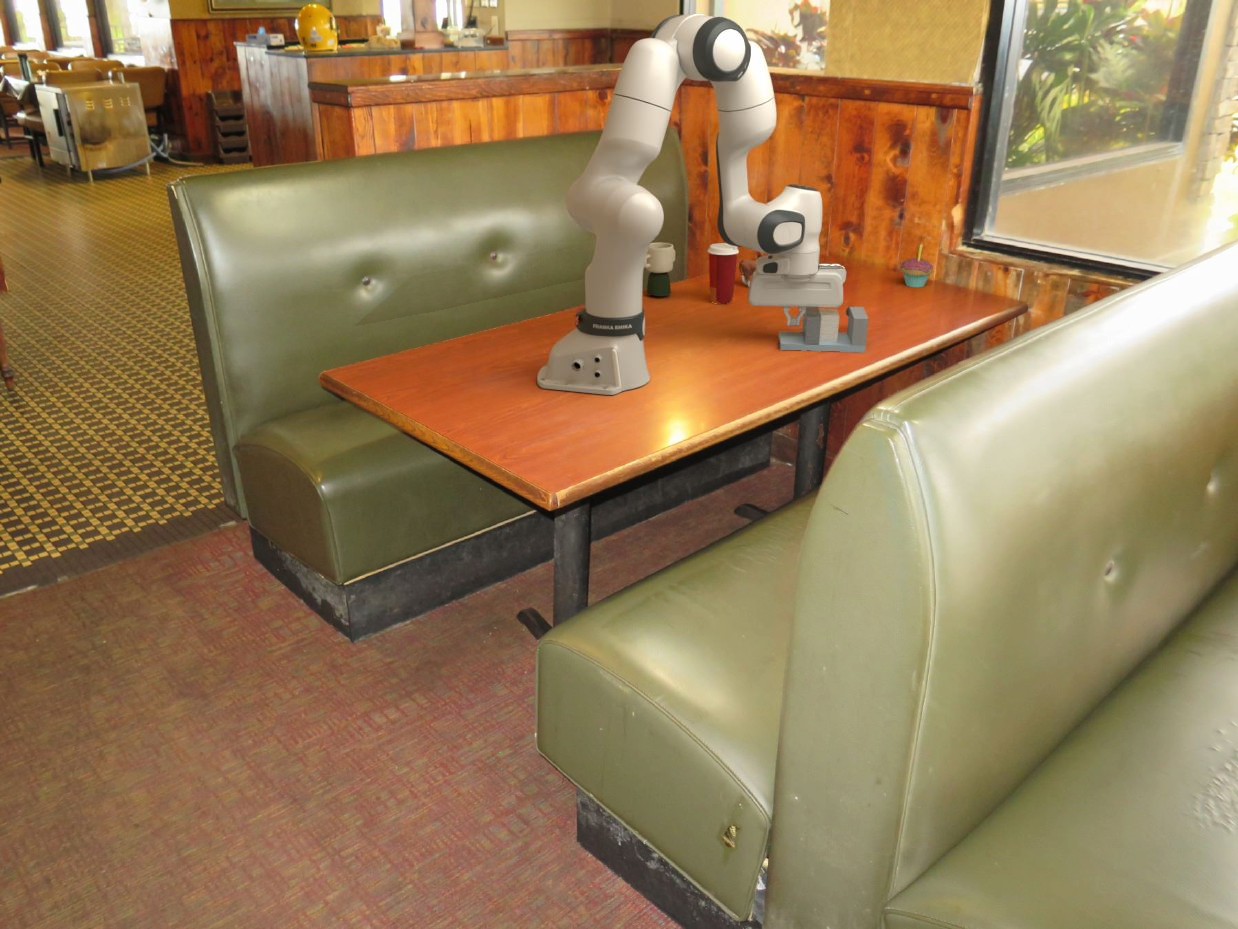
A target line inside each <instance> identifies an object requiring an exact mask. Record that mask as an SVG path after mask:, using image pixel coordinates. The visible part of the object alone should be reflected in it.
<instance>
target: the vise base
mask: <svg viewBox="0 0 1238 929" xmlns="http://www.w3.org/2000/svg"><path fill="white" fill-rule="evenodd" d="M845 315H846V316H847V317H848V318H847V329H846V332H838V338H837V342H819V344H805V342H804V337H803V333H802V331H785V330H784V331H782V330H781V331H778V343H780V344H779V350H780V351H782V350H801V351H800V352H808V351H807V350H811V351H810V352H821V351H840V352H839V353H859V354H861V353H864V354H865V353H866V346H867V336H868V326H869V316H868V314H867V312H866V309H865V308H864V307H863V306H854V305H850V306H848V307H847V308H846V310H845Z"/></svg>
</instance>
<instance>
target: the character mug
mask: <svg viewBox="0 0 1238 929" xmlns="http://www.w3.org/2000/svg"><path fill="white" fill-rule="evenodd" d="M674 262H676V249H674V245H673V243H669V242H660V241H659V242H651V244H650V246H649V249H648V252H647V256H646V260H645V264H644V269H646V271H648V272H650V273H649V274H648V278H647V285H646V295H650V296H653V298H655V297H668V296H670V295H671V294H672V290H671V280H670V275H669V273H670V272H672V271H673V269H674Z"/></svg>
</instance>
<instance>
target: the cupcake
mask: <svg viewBox="0 0 1238 929" xmlns="http://www.w3.org/2000/svg"><path fill="white" fill-rule="evenodd" d="M918 247H919V248H918V252H917V253H918V255H917V257H913V258H912V257H911V258H908V259H907V260H904V261H902V262H901V264H900V267H899V272H900V273H902V274H903V277H904V281H905V282H904V283H905V285H906V286H907V287H909V288H923V287H924V286H925V284H926V283H927V281H928V279H929V277H930V276H931V275H932V274H933V272H934V266H933V264H932V263H931V262H930V261H929V260H926V259H924V258H921V255H922V249H923V241H921V242H920V244H919V246H918Z"/></svg>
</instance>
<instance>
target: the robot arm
mask: <svg viewBox="0 0 1238 929" xmlns="http://www.w3.org/2000/svg"><path fill="white" fill-rule="evenodd" d="M686 79H688V80H692V81H699V82H701V81H702V82H704V81H706V82H707V81H709V82H710V83H711V85H712V88H713V90H714V96H715V104H716V110H717V116H718V132H717V135H716V139H715V157H716V170H717V171H716V173H717V184H718V195H719V197H718V198H719V203H718V204H719V206H718V212H717V213H718V214H717V225H716V226H717V231H718V234H719V236H720V238H721V239H722V240H723V241H724V243H727V244H729V245H732V246H737V248H745V249H748V250H752V251H755V252H759V253H762V254H766V255H762V256H759V257H757V259H756V260H755V261H756V270H755V271H754V273H753V274H752V275H751V276H750V286H749V287H748V293H747V294H748V295H747V296H748V298H747V301H748V303H749V305H751V306H753V307H755V306H756V307H782V311H783V313H784V315H785V317H786V325H787V327H800V324H801V319H803V315H804V313H805V312H806V307H818V308H840V307H841V305H842V304H843V302H844V285H843V284H844V283H845V282H846V279H847V269H846V267H844V266H843V265H841V263H837V262H835V263H828V262H827V263H825V262H820V253H821V247H820V240H819V239H820V234H821V232H822V227H823V226H822V224H823V199H822V195H821V192H820V191H819V190H818V189H817V188H815V187H811V186H806V185H802V184H792V183H791V184H787V185H785V186H784V188H783V190H782V192H781V193H780V194H779V195H778V196H777V197H775V198H774V199H772V200H771V201H769V202H766V203H763V202H759V201H756V200H755V199H754V198H753V197H752V196H751V194H750V192H749V181H748V166H747V161H748V160H747V158H748V155H749V153H750V151H751V150H753V149H756V148H757V147H760V146H761V145H762V144H764V143H765V142H766V141H768V139H769V138H770V137H771V136H772V134H773V133H774V131H775V129H776V127H777V115H778V114H777V104H776V99H775V98H776V97H775V93H774V87H773V82H772V78H771V74H770V70H769V67H768V62H767V61H766V57H765V54H764V52H763V50H762V48H761V46H760V45H759V44H758V43H756V42H755V41H752V40H749V39H748V36H747V35H746V33H745V31H744V30H743V28H742V26H740V25H739V24H738V23H737V22H735V21H733V20H732V19H730V18H727V17H724V16H711V15H707V14H702V13H691V14H690V13H689V14H675V15H671V16H669V17H666V18H665V19H663V20H662V21H661V22H659V23H658V24H657V26H656V27H655V28H654V30H653V31H652V33H651V35H650V37H647V38H642V39H639V40H637V41H635V42H634V44H632V46H631V47H630V49H629V50H628V53H627V55H626V57H625V59H624V62H623V63H622V66H621V69H620V71H619V74H618V77H617V81H616V82H615V86H614V90H613V93H612V97H611V101H610V105H609V108H608V112H607V116H606V119H605V123H604V125H603V130H602V134H601V136H600V137H599V138H600V139H599V141H598V144H597V145H596V148H595V150H594V152H593V153H592V155H591V158H590V159H589V161H588V164H587V165H586V167H585V169H584V171H582V174H581V175H580V177H578V178H577V179H575V181H573V183H572V184H571V185H570V187H569V189H568V191H567V194H566V201H565V202H566V203H565V204H566V209H567V212H568V214H569V215H570V217H571V218H572V220H573V221H574V223H576V224H577V225H578V226H579V227H580V228H581V229H583V230H584V231H586V232H589V233H591V234H593V235H595V239H596V240H595V241H596V242H595V248H594V253H593V257H592V259H591V262H590V264H589V265H588V266H587V267H586V269H585V272H584V287H585V288H584V290H585V291H584V292H585V299H584V300H585V301H584V302H585V306H584V305H578V306H577V308H576V309H575V312H574V313H575V317H574V318H575V328H574V329H572V330H571V331H570V332H569V333H568V334H566V335H564V336H563V337H562V338H561V339H558V341H556V343H555V344H554V345H553V347H552V348H551V350H550V353H549V356H548V362H547V364H545V365H544V366H542V367H541V368H540V369H539V370H538V372H537V375H536V376H537V378H536V382H537V383H536V384H537V385H538V386H539V387H540V388H541V389H547V390H557V391H566V392H574V393H575V392H576V393H585V394H594V395H595V394H596V395H603V396H604V395H608V396H612V395H613V396H614V395H617V394H619V393H621V392H624V391H629V390H633V389H636V388H640V387H642V386H645V385H647V383H649V381H650V380H651V376H650V373H649V369H648V365H647V359H646V354H645V353H646V352H645V346H644V344H645V343H644V338H645V336H646V335H645V333H646V316H645V309H643V279H644V269H645V268H644V264H645V260H646V256H647V252H648V249H649V246H650V244H651V243H653V241H654V240H655V239H656V238H657V237H658V236H659V234H660V232H661V230H662V228H663V225H664V221H665V220H664V217H665V214H664V209H663V206H662V204H661V202H660V201H659V199H658V198H657V197H656V196H655V195H653V194H652V192H650V191H649V190H647V189H646V188H645V187H644V186H641V185H639V184H638V182H639V181H640V179H641V177H642V175H643V173H644V172H645V171H646V169H647V168H648V167H649V165H651V163H653V162H654V161H655V160H656V159H657V158H658V156H659V155H660V153H661V149H662V147H663V142H664V139H665V136H666V132H667V129H668V125H669V122H670V118H671V114H672V110H673V107H674V104H675V99H676V93H677V91H678V89H679V87H680V85H681V84H682V83H683V82H684V80H686ZM791 307H794V308H798V311H799V312H798V313H797V315H796V316H793V315H792V316H791V315H790V313H789V312H791Z"/></svg>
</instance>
